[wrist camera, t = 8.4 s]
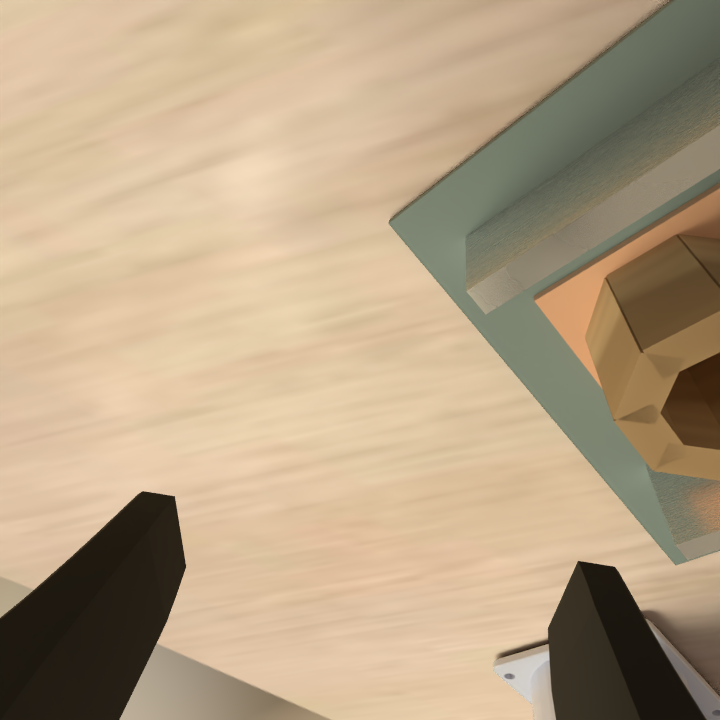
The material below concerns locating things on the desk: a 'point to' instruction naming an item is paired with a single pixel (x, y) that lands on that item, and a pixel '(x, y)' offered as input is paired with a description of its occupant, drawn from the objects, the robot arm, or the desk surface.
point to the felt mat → (521, 314)
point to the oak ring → (664, 354)
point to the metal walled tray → (601, 221)
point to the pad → (582, 287)
